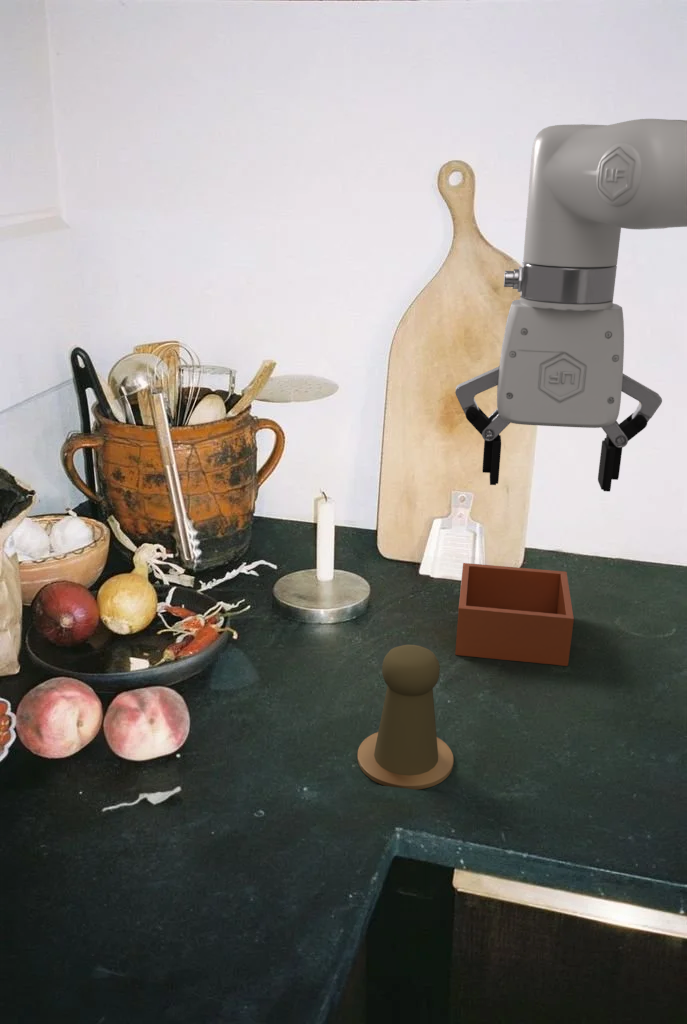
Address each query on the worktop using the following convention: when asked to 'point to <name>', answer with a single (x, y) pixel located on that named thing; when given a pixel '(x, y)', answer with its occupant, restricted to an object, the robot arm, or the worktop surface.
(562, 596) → the terracotta open box
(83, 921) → the worktop surface
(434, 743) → the olive brown pawn
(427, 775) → the coaster
